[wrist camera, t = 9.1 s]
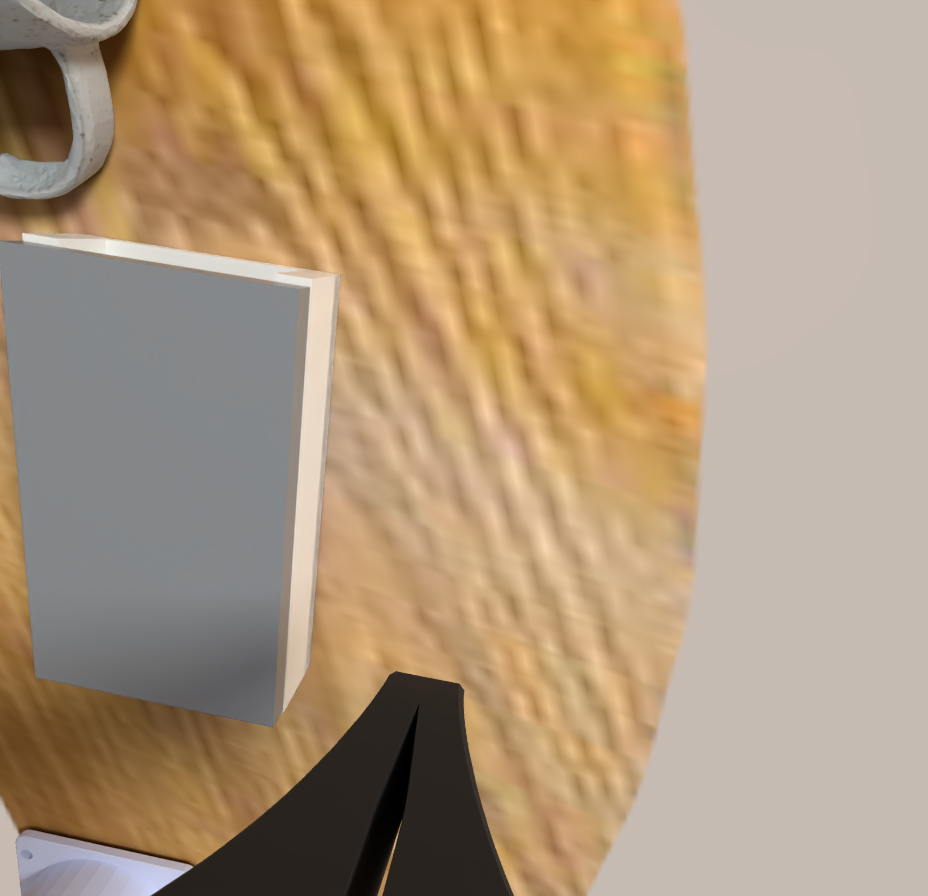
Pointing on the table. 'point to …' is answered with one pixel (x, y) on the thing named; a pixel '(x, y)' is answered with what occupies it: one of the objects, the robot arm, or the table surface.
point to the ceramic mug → (66, 86)
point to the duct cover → (156, 474)
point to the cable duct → (313, 409)
